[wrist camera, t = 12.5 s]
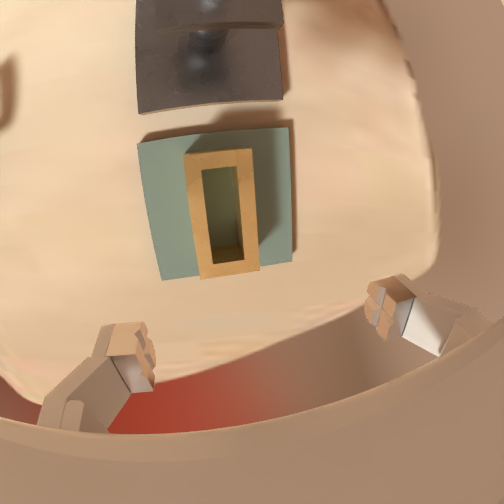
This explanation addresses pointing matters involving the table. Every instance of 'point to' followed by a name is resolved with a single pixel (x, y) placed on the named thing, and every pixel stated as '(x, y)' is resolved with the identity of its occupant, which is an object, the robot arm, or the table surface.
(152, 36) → the pin stand
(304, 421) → the robot arm
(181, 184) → the rubber mat
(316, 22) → the table surface
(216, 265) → the wooden rectangular frame
